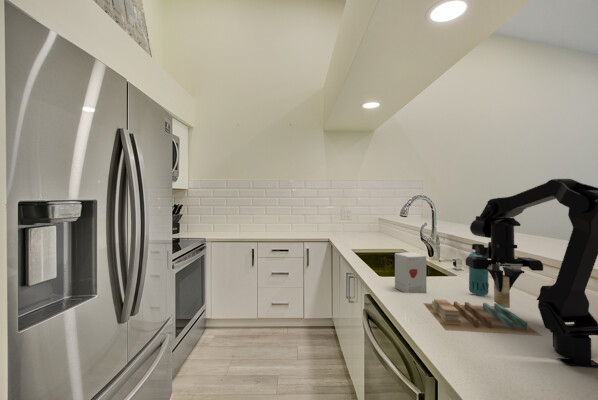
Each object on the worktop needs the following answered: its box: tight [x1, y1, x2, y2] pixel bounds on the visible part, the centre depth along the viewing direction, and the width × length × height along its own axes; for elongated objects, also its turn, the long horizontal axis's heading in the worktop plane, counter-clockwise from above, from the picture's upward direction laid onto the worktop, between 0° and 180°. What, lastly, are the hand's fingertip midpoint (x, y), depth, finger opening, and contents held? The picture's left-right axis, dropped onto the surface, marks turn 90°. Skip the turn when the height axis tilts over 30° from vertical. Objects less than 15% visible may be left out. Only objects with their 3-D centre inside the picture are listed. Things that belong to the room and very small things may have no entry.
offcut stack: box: [431, 298, 461, 325], centre depth 85 cm, size 12×4×4 cm, turn 172°
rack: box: [423, 301, 543, 336], centre depth 84 cm, size 20×24×3 cm
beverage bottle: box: [468, 243, 490, 296], centre depth 105 cm, size 6×7×20 cm
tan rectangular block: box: [493, 274, 511, 309], centre depth 83 cm, size 5×2×9 cm, turn 172°
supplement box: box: [394, 251, 427, 294], centre depth 112 cm, size 9×9×15 cm
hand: (503, 291), depth 82 cm, fingers closed on tan rectangular block, 2 cm apart
